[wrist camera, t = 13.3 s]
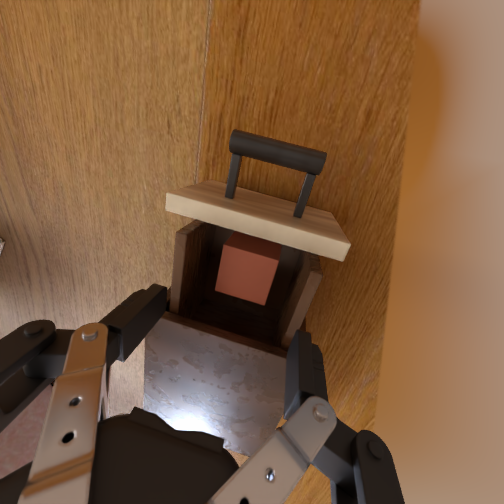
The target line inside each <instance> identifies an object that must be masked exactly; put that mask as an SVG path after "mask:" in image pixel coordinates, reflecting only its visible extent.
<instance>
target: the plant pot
mask: <svg viewBox="0 0 504 504" xmlns="http://www.w3.org/2000/svg"><path fill="white" fill-rule="evenodd" d="M52 390H53V386H52V385H51V384H49V385H48V386H47V387H46V388H45V389H44V390H43V391H42V392H41V393H40V394H39V395H38V396H37V397H36V398H35V399H34V400H33V401H32V402H31V403H30V404H29V405H28V406H27V407H26V408H25V409H24V410H23V411H22V412H21V413H20V414H19V415H18V416H17V417H16V418H15V419H14V420H13V421H12V422H11V423H10V424H9V425H8V426H7V427H6V428H5V429H4V430H3V431H2V432H1V433H0V479H1V478H3V477H5V476H6V475H8V474H10V473H12V472H13V471H15V470H17V469H19V468H20V467H22V466H24V465H25V464H27V463H29V462H31V461H32V460H33V459H34V456H35V452H36V448H37V445H38V441H39V437H40V434H41V430H42V426H43V423H44V419H45V415H46V412H47V408H48V404H49V401H50V397H51V393H52Z"/></svg>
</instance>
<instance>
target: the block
mask: <svg viewBox="0 0 504 504" xmlns="http://www.w3.org/2000/svg"><path fill="white" fill-rule="evenodd" d="M281 247H282V244H280V243H276V242H273V241H270V240H266V239H263V238H259V237H256V236H252V235H249V234H245V233H242V232H238V231H234V233H233V234H232V235H231V236H230V237H229V239H228V240H227V241H226V242H225V244H224V245H223V250H222V255H221V261H220V266H219V271H218V277H217V282H216V287H215V291H218V292H222V293H225V294H228V295H231V296H235V297H238V298H241V299H244V300H248V301H251V302H254V303H257V304H260V305H264V306H265V304H266V301H267V297H268V294H269V291H270V288H271V285H272V282H273V279H274V276H275V273H276V270H277V266H278V263H279V259H280V253H281Z"/></svg>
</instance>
